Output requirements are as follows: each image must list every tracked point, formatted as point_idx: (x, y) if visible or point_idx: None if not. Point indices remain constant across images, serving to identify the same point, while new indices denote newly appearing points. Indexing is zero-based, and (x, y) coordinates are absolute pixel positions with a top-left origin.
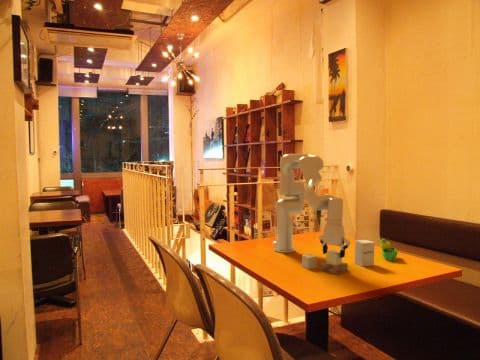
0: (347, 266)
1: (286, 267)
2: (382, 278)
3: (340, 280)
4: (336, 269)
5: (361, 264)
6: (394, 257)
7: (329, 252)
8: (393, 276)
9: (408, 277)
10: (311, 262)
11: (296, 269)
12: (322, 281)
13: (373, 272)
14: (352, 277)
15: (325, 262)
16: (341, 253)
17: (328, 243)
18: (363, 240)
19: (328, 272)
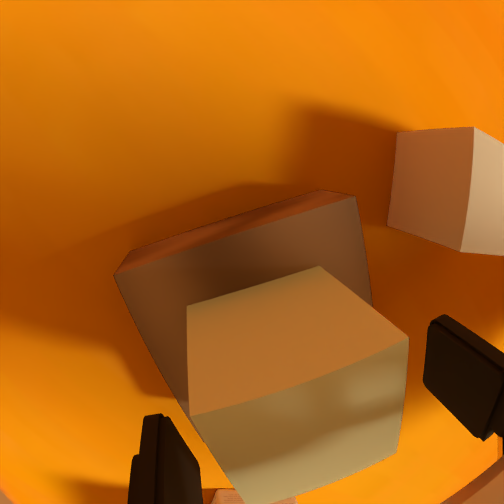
0: None
1: (469, 57)
2: (4, 429)
3: (16, 162)
4: (138, 259)
5: (224, 498)
6: None
7: (353, 364)
8: (31, 476)
9: (18, 491)
10: (432, 168)
11: (424, 61)
12: (84, 9)
13: (102, 472)
14: (37, 310)
15: (352, 286)
16: (141, 473)
17: (500, 480)
18: None
19: (230, 217)
